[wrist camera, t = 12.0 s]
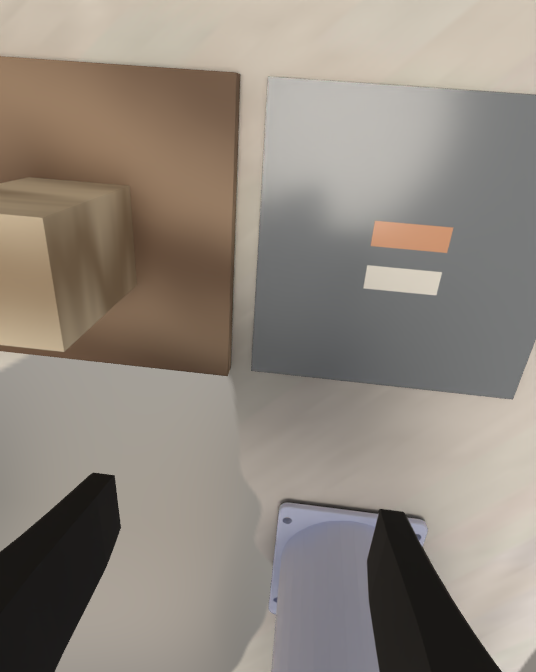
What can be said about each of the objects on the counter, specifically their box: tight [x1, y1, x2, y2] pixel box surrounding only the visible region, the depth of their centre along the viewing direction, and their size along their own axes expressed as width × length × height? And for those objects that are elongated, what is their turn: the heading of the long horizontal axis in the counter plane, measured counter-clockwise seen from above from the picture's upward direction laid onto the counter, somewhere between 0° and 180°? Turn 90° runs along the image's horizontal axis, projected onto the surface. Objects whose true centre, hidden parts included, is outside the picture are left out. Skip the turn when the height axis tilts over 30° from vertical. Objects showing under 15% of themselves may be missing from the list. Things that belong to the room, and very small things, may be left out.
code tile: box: [251, 76, 536, 399], centre depth 18 cm, size 12×12×1 cm
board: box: [0, 56, 240, 376], centre depth 18 cm, size 12×12×1 cm
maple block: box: [0, 177, 137, 352], centre depth 15 cm, size 4×4×6 cm
